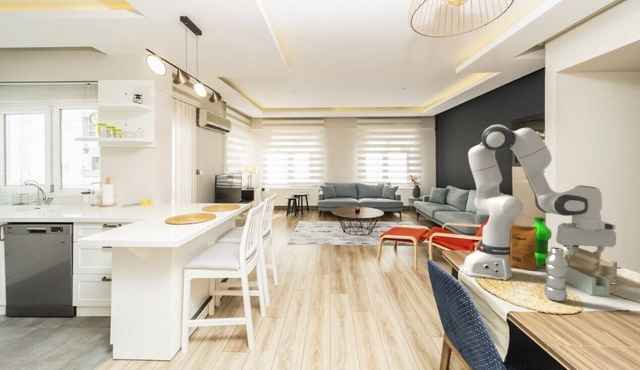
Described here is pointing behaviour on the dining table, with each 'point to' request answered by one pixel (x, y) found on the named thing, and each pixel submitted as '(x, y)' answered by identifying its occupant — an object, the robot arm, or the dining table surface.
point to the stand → (588, 282)
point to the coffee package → (523, 247)
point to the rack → (604, 268)
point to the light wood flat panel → (585, 262)
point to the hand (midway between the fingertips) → (584, 255)
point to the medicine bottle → (567, 249)
